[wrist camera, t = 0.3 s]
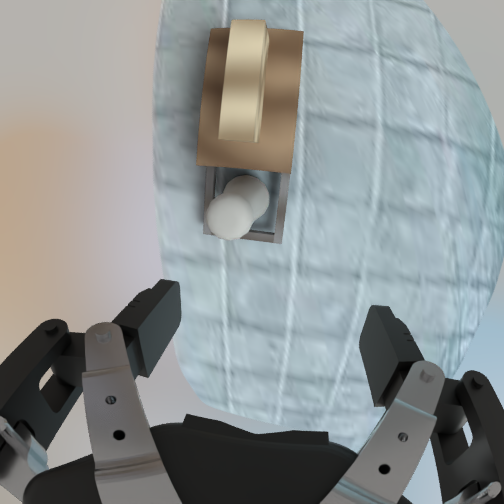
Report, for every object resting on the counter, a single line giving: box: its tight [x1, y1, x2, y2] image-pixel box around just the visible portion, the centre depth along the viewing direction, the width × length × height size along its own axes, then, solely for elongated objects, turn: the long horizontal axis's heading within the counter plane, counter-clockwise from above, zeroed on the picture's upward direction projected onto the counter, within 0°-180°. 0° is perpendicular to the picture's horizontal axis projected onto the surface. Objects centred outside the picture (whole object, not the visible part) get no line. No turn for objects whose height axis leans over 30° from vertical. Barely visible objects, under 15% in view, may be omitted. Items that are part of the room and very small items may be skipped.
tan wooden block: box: [196, 20, 304, 244], centre depth 26 cm, size 25×10×10 cm, turn 175°
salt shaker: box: [206, 175, 269, 241], centre depth 30 cm, size 6×6×13 cm
